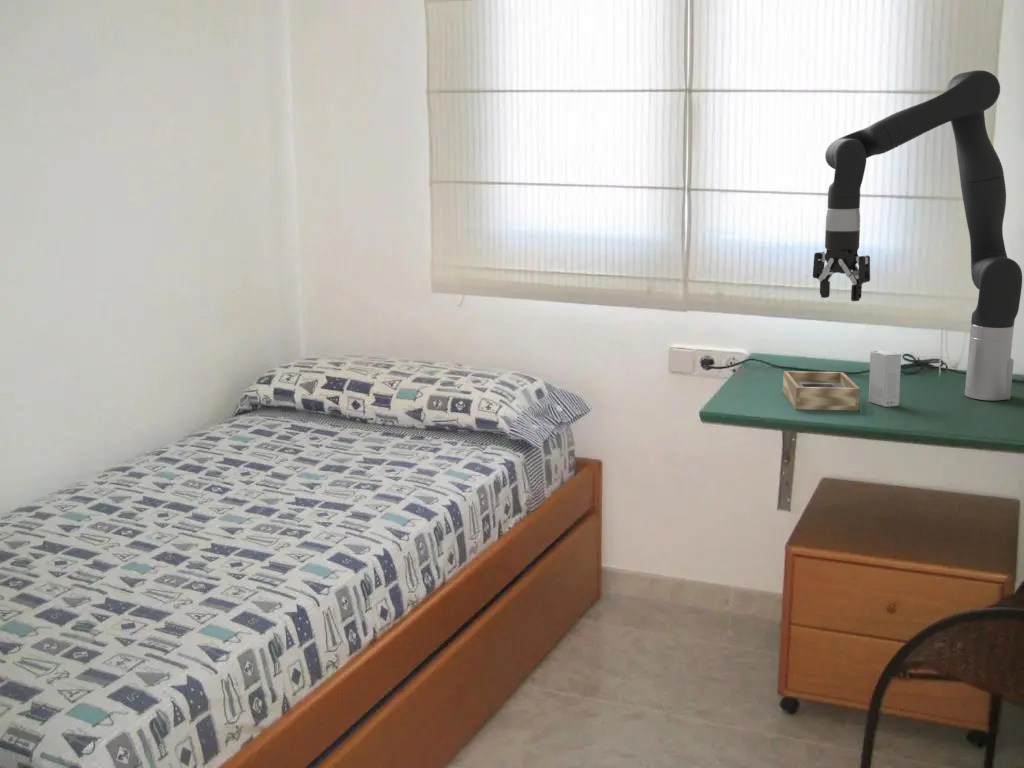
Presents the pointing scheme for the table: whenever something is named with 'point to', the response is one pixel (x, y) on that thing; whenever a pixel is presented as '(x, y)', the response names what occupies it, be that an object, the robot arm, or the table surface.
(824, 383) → the crate
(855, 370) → the table surface
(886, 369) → the skincare box
